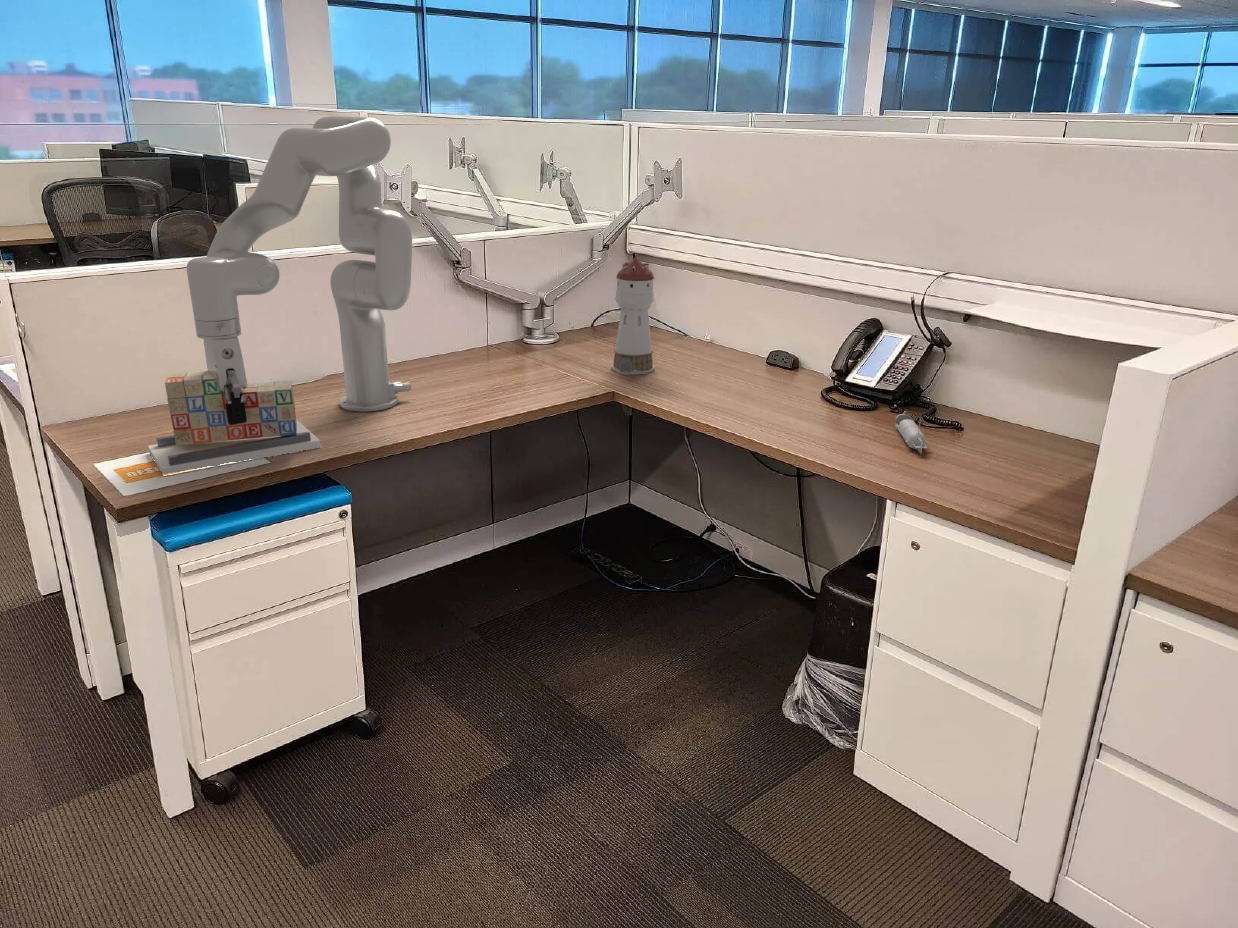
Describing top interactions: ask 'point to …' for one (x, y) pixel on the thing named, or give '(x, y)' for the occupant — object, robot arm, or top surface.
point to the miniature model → (634, 319)
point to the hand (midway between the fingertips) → (231, 416)
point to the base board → (227, 450)
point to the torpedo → (910, 432)
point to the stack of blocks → (205, 414)
